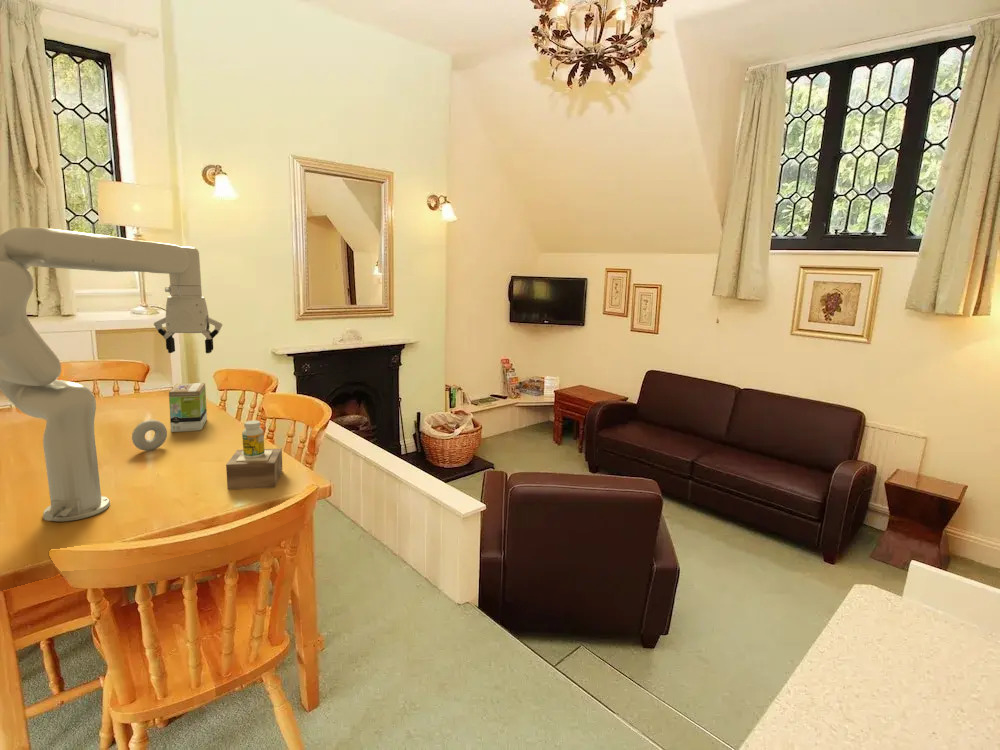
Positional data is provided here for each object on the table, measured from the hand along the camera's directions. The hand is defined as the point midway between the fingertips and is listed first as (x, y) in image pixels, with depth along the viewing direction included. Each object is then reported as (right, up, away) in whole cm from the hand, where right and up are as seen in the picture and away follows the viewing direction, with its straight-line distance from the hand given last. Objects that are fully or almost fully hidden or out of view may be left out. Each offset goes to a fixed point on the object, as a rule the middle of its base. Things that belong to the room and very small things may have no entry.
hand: (190, 352), depth 154 cm
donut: (-23, -31, +18) cm, 42 cm away
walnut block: (+19, -36, -1) cm, 41 cm away
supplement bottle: (+19, -29, -3) cm, 35 cm away
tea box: (-26, -25, +45) cm, 57 cm away
